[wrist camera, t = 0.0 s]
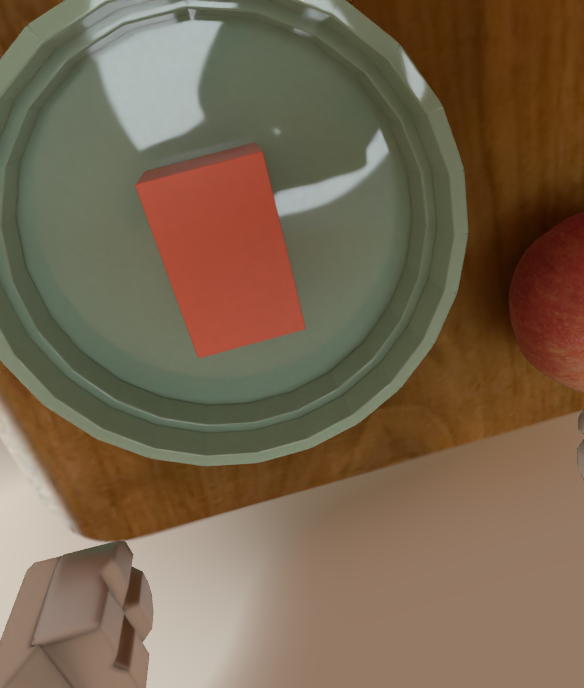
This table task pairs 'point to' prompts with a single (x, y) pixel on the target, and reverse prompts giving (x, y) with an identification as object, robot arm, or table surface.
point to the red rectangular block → (223, 248)
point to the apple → (552, 303)
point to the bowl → (291, 201)
